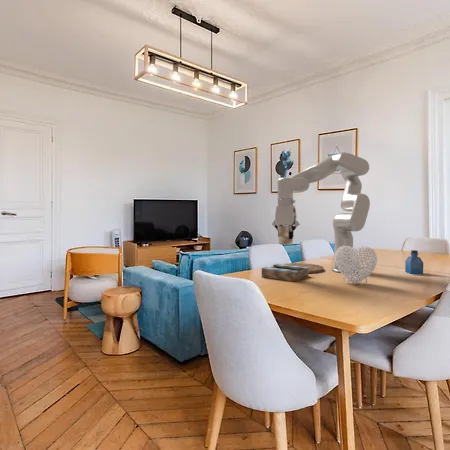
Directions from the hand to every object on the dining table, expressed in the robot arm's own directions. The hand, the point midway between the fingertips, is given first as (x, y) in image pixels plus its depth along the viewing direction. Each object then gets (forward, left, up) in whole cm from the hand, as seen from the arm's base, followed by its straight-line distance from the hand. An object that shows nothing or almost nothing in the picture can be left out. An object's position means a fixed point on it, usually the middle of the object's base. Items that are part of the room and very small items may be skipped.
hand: (285, 238), depth 167 cm
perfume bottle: (-51, -46, -20) cm, 71 cm away
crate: (0, 0, -19) cm, 19 cm away
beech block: (0, 0, -3) cm, 3 cm away
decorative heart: (-33, -4, -20) cm, 38 cm away
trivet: (+2, -23, -20) cm, 30 cm away
